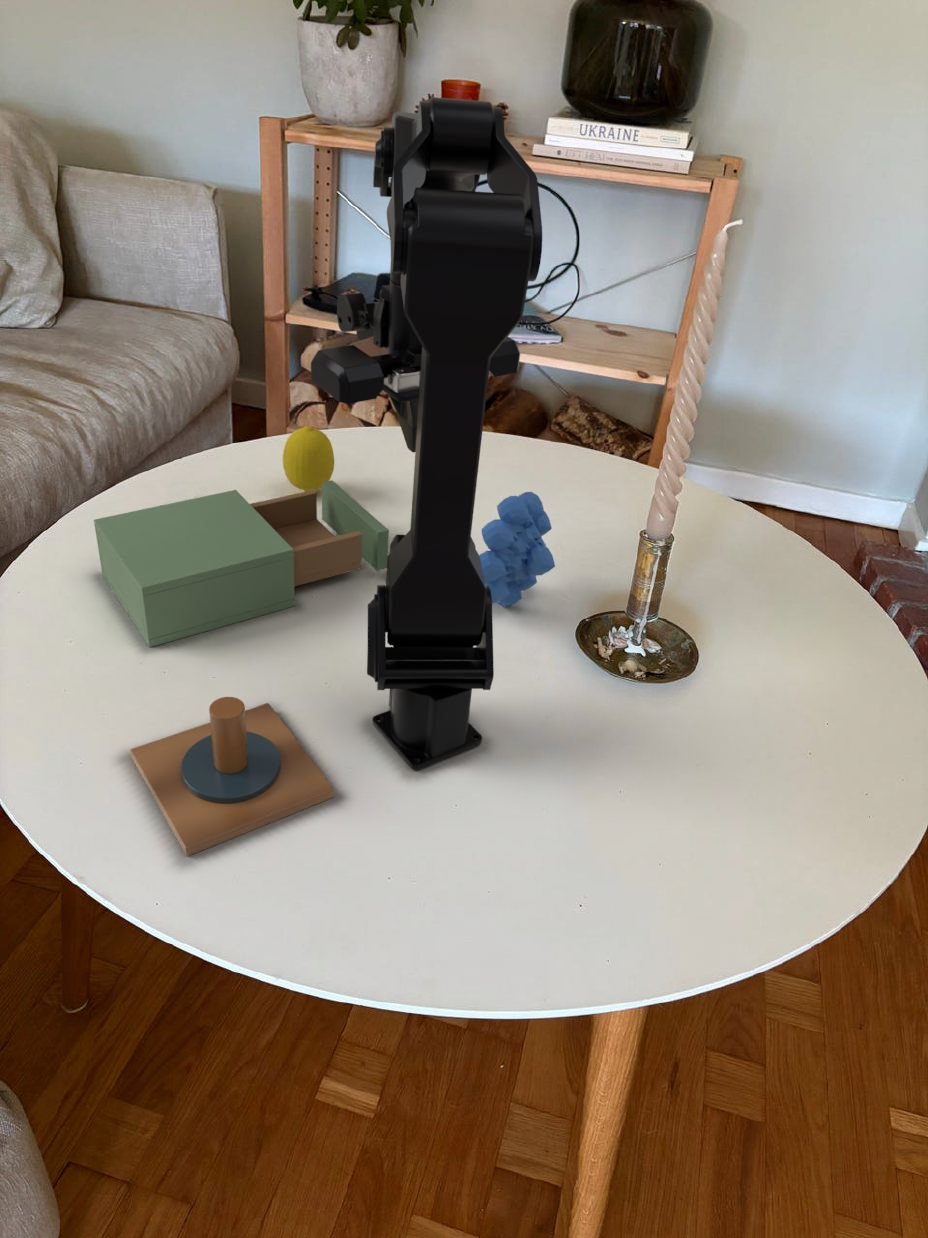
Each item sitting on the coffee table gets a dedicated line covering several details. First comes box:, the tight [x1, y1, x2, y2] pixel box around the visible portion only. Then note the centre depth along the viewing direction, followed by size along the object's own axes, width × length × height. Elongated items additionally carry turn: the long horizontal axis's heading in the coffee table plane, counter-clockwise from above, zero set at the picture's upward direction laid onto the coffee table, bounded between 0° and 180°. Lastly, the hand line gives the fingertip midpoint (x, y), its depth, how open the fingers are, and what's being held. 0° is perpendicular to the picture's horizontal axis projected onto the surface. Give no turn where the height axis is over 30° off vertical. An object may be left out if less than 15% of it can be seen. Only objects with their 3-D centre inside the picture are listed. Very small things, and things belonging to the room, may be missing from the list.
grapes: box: [479, 491, 556, 608], centre depth 88 cm, size 12×7×12 cm, turn 148°
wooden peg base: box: [129, 702, 335, 857], centre depth 70 cm, size 11×11×1 cm
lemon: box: [282, 424, 335, 492], centre depth 104 cm, size 6×6×8 cm
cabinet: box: [93, 489, 296, 648], centre depth 87 cm, size 14×13×6 cm
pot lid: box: [181, 696, 281, 803], centre depth 68 cm, size 7×7×6 cm
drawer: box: [249, 479, 390, 588], centre depth 93 cm, size 14×11×4 cm
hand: (413, 450), depth 90 cm, fingers closed
